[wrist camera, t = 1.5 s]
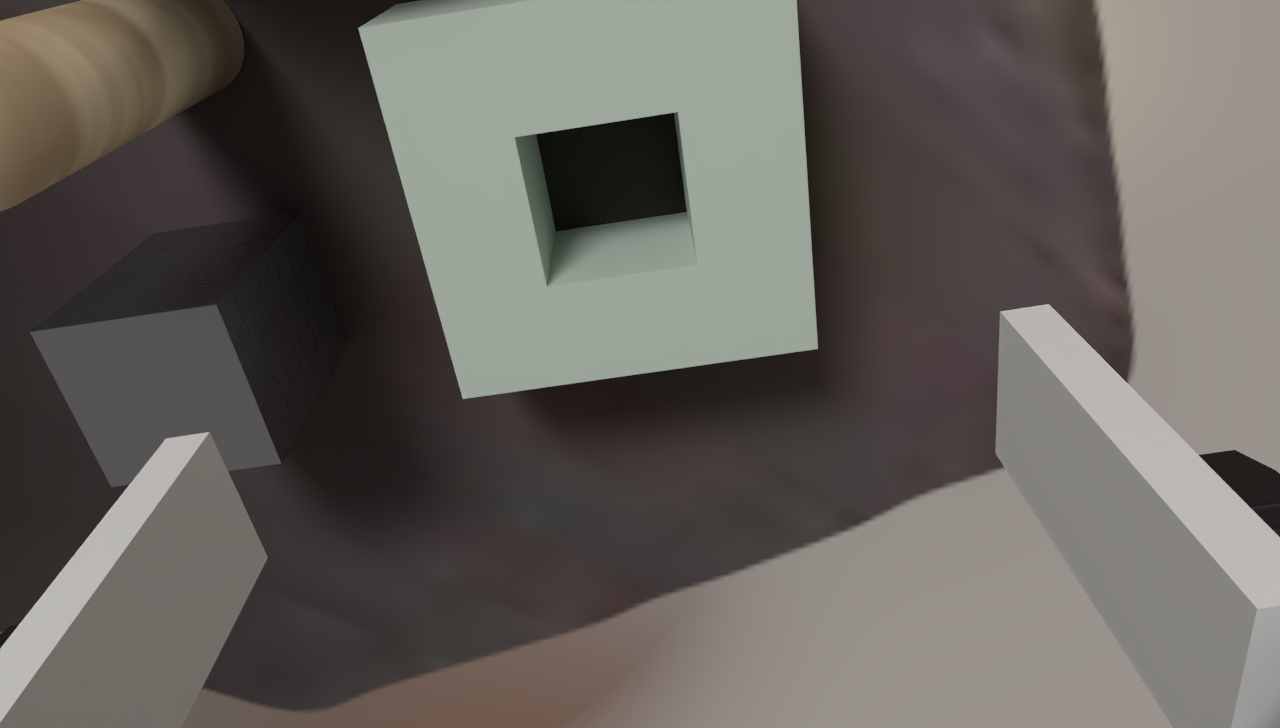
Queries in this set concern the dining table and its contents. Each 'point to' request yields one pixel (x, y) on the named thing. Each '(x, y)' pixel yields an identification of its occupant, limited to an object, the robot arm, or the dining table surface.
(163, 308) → the dark grey block
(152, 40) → the birch dowel
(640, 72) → the socket block
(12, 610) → the dining table surface
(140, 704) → the robot arm
